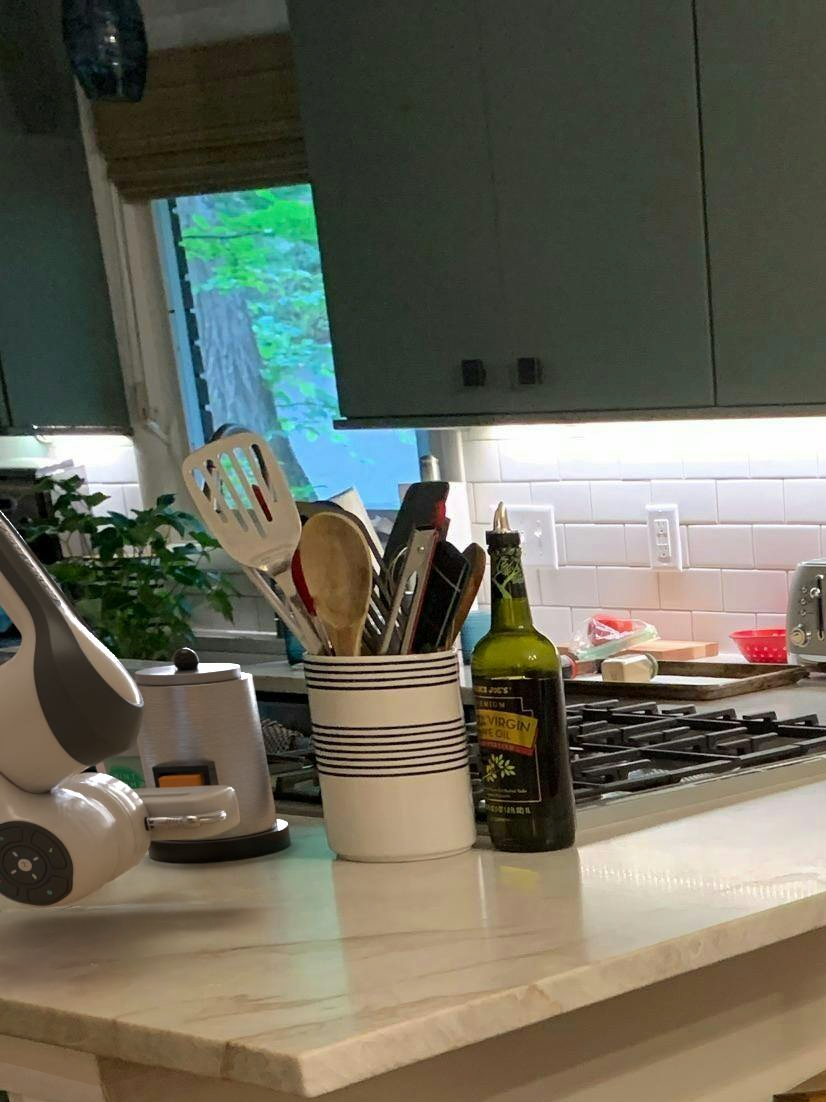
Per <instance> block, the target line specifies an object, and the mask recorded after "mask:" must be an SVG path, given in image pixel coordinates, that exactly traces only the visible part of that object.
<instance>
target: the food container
mask: <svg viewBox="0 0 826 1102" xmlns="http://www.w3.org/2000/svg"><path fill="white" fill-rule="evenodd" d="M103 763H104V767H105V770H106V773H107V775H109V776H112V777H114V778H116V779H118V780H120V781H122V782H123V783H125V784H126V785H127V786H129V787H130V788H131V789H142V788H146V783H145V778H144V773H143V768H142V763H141V758H140V753H139V748H138V743H137V740H136V743H135V745H134V747H133V748H131V749H130V750H128V751H125V752H123V753H121V754H119V755H117V756H115V757H113V758H110V759H108V760H106V761H104V762H103Z"/></svg>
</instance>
